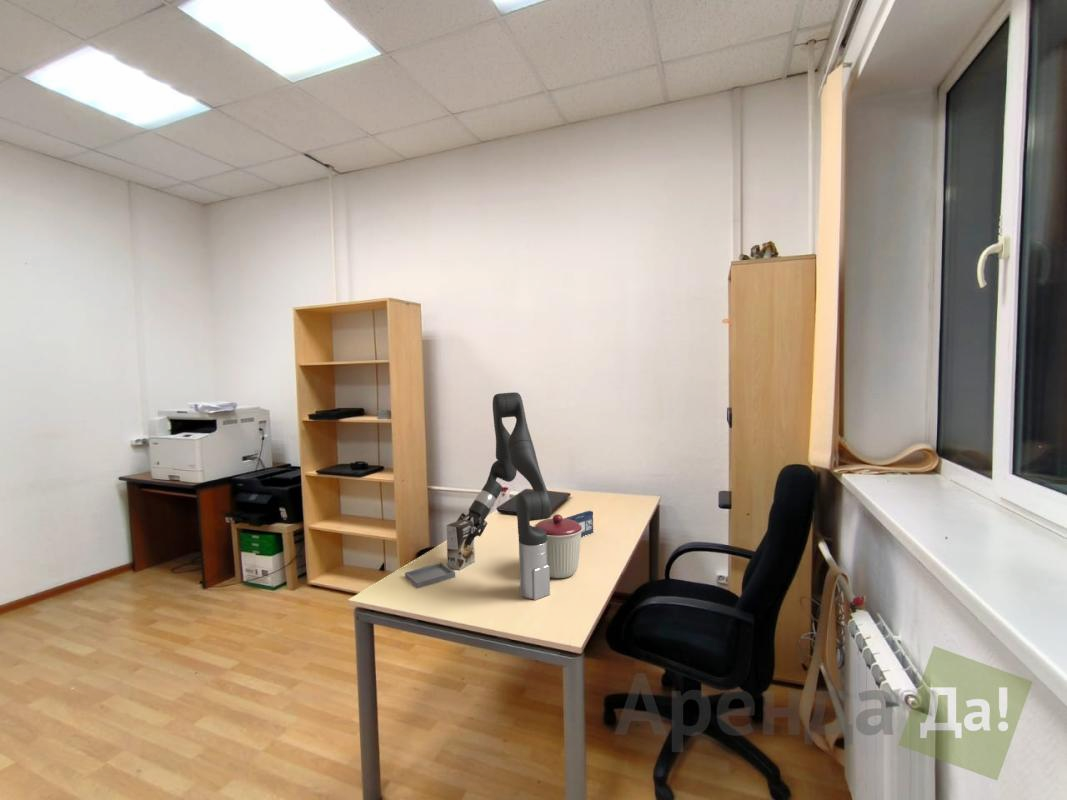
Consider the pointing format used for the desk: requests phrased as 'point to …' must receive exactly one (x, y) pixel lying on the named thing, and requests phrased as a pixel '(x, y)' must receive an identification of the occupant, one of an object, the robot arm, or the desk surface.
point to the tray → (429, 575)
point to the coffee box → (459, 545)
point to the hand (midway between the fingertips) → (460, 541)
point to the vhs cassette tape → (584, 521)
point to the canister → (562, 545)
